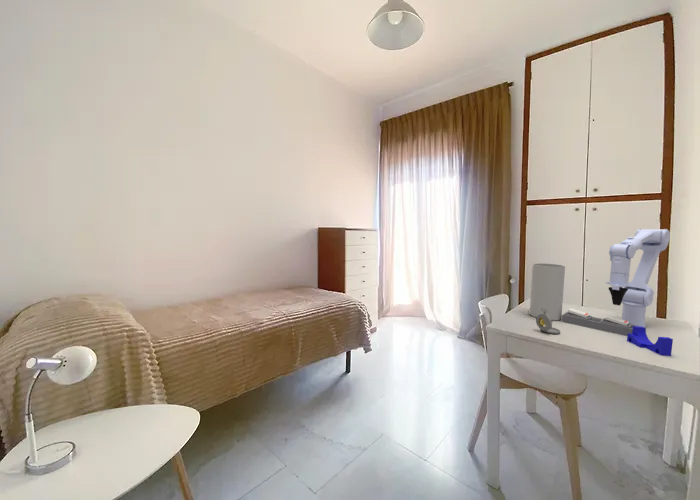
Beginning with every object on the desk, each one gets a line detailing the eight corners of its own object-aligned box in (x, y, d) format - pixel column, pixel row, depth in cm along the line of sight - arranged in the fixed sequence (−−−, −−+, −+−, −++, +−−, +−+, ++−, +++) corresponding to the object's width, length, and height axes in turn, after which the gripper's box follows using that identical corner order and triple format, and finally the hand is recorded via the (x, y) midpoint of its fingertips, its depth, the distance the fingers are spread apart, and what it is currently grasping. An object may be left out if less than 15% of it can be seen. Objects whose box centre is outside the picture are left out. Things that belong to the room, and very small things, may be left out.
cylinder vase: (523, 314, 138) (526, 264, 136) (539, 311, 143) (542, 262, 141) (551, 322, 126) (554, 267, 124) (567, 319, 132) (571, 266, 130)
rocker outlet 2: (605, 317, 121) (606, 314, 121) (627, 324, 116) (629, 321, 115) (603, 319, 118) (605, 316, 118) (626, 327, 113) (627, 323, 113)
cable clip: (626, 341, 107) (628, 325, 106) (640, 342, 106) (642, 326, 106) (655, 355, 95) (657, 338, 95) (670, 356, 94) (672, 339, 94)
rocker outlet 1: (569, 310, 131) (570, 307, 130) (588, 317, 125) (589, 313, 125) (567, 312, 128) (568, 309, 127) (586, 319, 123) (587, 315, 122)
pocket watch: (561, 331, 116) (562, 307, 115) (558, 337, 110) (560, 312, 109) (537, 326, 121) (539, 303, 120) (533, 331, 115) (535, 308, 114)
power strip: (566, 318, 133) (567, 310, 133) (645, 334, 113) (646, 325, 113) (561, 321, 128) (562, 313, 128) (643, 339, 108) (644, 330, 108)
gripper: (610, 270, 125) (607, 300, 126) (603, 273, 116) (600, 305, 117) (632, 272, 120) (629, 303, 121) (627, 275, 110) (624, 309, 112)
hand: (616, 304), depth 118 cm, fingers closed
